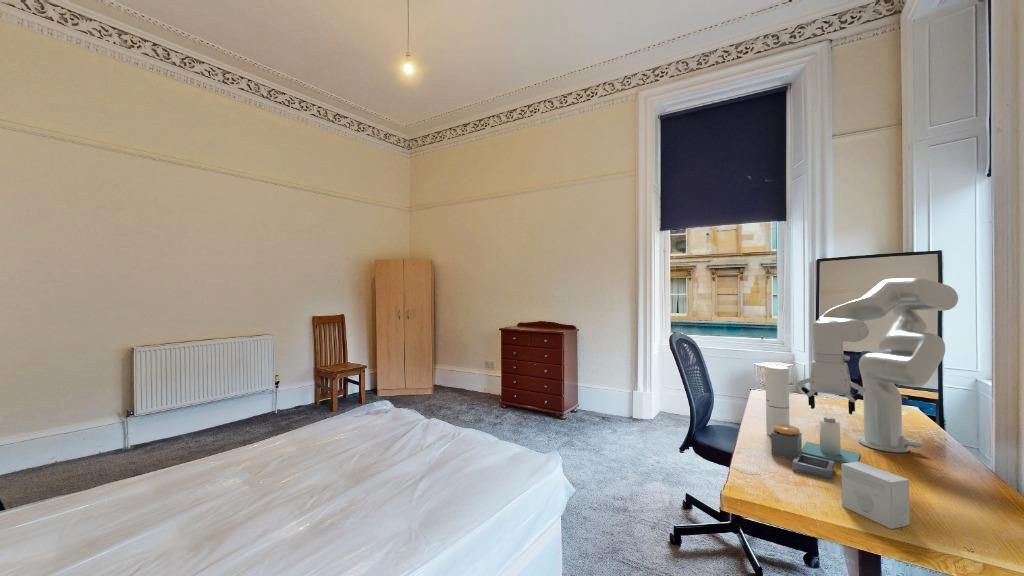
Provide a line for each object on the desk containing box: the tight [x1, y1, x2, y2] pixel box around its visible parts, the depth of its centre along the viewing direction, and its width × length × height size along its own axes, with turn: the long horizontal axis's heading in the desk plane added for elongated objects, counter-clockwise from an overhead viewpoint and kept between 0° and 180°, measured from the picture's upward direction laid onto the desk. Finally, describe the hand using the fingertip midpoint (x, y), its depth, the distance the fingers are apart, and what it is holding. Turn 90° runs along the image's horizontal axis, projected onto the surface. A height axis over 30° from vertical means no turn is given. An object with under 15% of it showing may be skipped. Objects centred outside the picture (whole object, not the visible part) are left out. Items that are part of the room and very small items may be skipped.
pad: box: [802, 441, 861, 464], centre depth 128 cm, size 14×12×1 cm
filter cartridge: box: [818, 416, 842, 455], centre depth 128 cm, size 5×5×11 cm
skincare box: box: [840, 460, 911, 530], centre depth 93 cm, size 10×6×10 cm, turn 17°
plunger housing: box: [770, 430, 803, 461], centre depth 128 cm, size 7×7×7 cm
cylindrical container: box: [765, 364, 791, 436], centre depth 145 cm, size 7×7×25 cm
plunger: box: [773, 424, 801, 436], centre depth 128 cm, size 7×7×5 cm
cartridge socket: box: [791, 453, 835, 481], centre depth 116 cm, size 9×9×2 cm
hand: (831, 410), depth 128 cm, fingers open, 9 cm apart
